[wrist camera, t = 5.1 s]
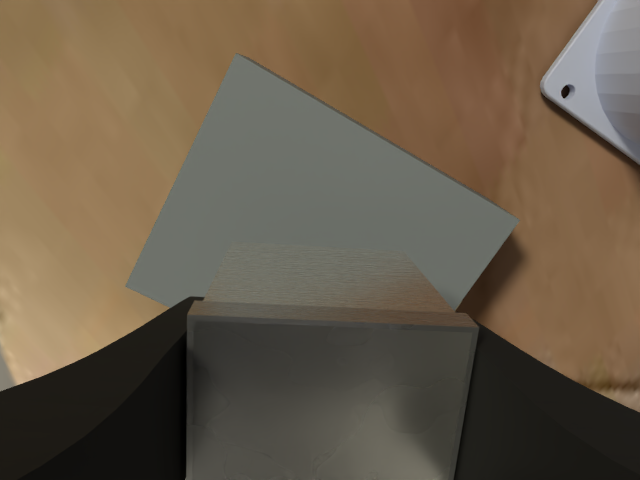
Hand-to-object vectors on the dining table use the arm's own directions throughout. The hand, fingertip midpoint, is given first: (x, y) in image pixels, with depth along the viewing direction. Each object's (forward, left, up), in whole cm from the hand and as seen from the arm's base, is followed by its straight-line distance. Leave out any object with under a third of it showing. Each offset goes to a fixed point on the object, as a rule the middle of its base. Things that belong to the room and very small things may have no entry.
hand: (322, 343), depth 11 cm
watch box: (0, 0, -10) cm, 10 cm away
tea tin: (0, +1, -2) cm, 2 cm away
